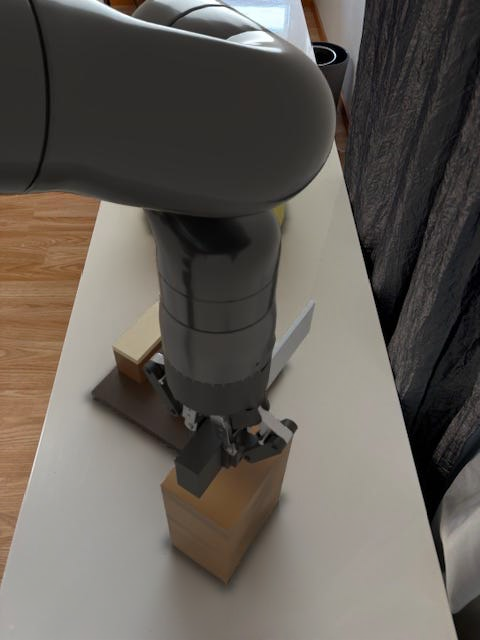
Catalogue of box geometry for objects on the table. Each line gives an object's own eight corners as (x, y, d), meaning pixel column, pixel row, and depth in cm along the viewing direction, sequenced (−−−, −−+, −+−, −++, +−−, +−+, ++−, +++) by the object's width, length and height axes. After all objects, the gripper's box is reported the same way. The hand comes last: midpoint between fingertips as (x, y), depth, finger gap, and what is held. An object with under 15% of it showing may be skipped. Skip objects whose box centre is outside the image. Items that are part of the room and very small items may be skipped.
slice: (141, 384, 80) (137, 360, 75) (117, 370, 81) (111, 345, 77) (183, 339, 85) (181, 313, 81) (160, 326, 87) (157, 300, 82)
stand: (226, 584, 65) (228, 531, 51) (171, 544, 68) (160, 484, 54) (278, 500, 71) (293, 433, 57) (227, 467, 74) (229, 396, 60)
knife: (199, 499, 48) (197, 475, 44) (177, 484, 49) (173, 459, 45) (317, 336, 60) (324, 305, 56) (297, 326, 60) (303, 295, 57)
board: (206, 471, 74) (205, 466, 72) (92, 397, 80) (90, 391, 79) (282, 367, 84) (283, 362, 83) (177, 310, 91) (176, 304, 90)
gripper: (100, 323, 37) (130, 442, 51) (278, 428, 33) (260, 529, 46) (169, 258, 41) (180, 385, 55) (336, 344, 37) (304, 459, 50)
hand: (217, 450), depth 50 cm, fingers closed on knife, 2 cm apart
